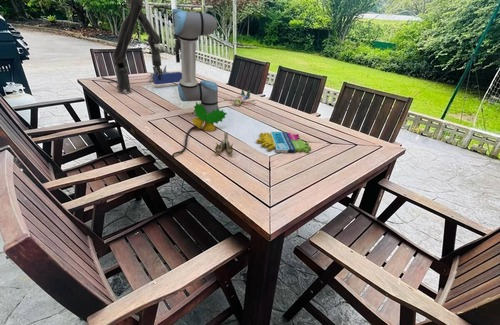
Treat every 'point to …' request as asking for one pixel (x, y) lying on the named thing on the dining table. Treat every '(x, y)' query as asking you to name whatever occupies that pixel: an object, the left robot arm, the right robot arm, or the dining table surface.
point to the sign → (283, 142)
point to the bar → (167, 78)
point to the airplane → (162, 72)
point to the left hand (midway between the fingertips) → (158, 79)
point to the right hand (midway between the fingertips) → (180, 64)
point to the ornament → (207, 117)
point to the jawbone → (224, 145)
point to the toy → (241, 99)
